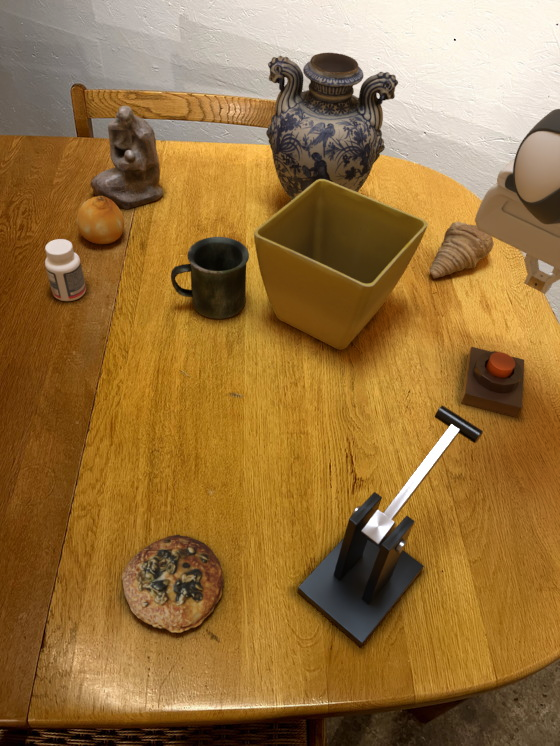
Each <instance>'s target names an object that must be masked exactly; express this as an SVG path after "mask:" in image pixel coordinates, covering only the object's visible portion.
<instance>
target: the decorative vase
mask: <svg viewBox="0 0 560 746" xmlns="http://www.w3.org/2000/svg"><path fill="white" fill-rule="evenodd" d="M267 67H268V68H269V76H268V81H270V82H272V83H273V84H278V89H279V93H278V94H277V97H276V99H275V104H274V113H275V114H274V115H272V116H271V121H270V124H269V125H268V127H267V130H266V131H265V132H266V137H267V138H268V144H269V145H270V149H271V154H272V161H273V165H274V168H275V172H276V174H277V179H278V180H279V183H280V185H281V187H282V189H283V191H284V192H285V194H286V195H287V196H288V198H289V199H290V201H292V200H293V199H294V198H295V197H297V196H298V195H299V194H300V193H302V192H303V191H304V190H305V189H306V188H308V187H309V186H310V185H311V184H312V183H314V182H315V181H316V180H318V179H325V180H329V181H331V182H333V183H336V184H338V185H341V186H343V187H346V188H348V189H350V190H353V191H355V192H358V193H359V191H360V190H361V188H362V187H363V186H364V184H365V182H366V181H367V179H368V178H369V176H370V173H371V172H372V169H373V167H374V164H375V163H376V162H377V160H378V159H379V158H380V156H381V153H383V151H384V150H385V148H386V146H385V145H384V144H385V141H384V139H383V138H382V137H383V133H382V130H381V128H382V126H383V121H384V111H383V107H382V104H383V102H384V101H389V100H393V99H395V97H396V95H395V92H396V87H397V86H398V85H399V81H398V79H397V77H396V74H391V73H390V72H388V71H386V72H384V71H379V72H378V73H376V74H374V75H371V76H369V77H367V78H366V79H365V80H364V81H363V79H364V72H363V69H362V68H361V67H360V65H359V63H358V61H357V60H356V59H354V58H353V57H351V56H349V55H346V54H343V53H338V52H321V53H317V54H314V55H313V56H312V57H311V58H310V60H309V61H307V63H305V64H304V66H303V69H301V68H300V66H299V65H298V63H296V62H295V61H292V60H291V59H290V58H289V56H282V55H279V56H278V57H275V56H273V57H272V58H271V60H270V61H269V62H268V63H267ZM304 76H305V77H306V78H307V79H308V80H309V81H310V82H309V83H308V90H304V91H303V88H304ZM285 78H286V79H287V82H286V79H285ZM362 81H363V82H362ZM361 82H362V84H361V87H360V90H359V94H358V96H356V95H355V94H354V93H355V90H354V86H355V85H357V84H359V83H361ZM285 83H286V84H285ZM378 96H379V98H378Z"/></svg>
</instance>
